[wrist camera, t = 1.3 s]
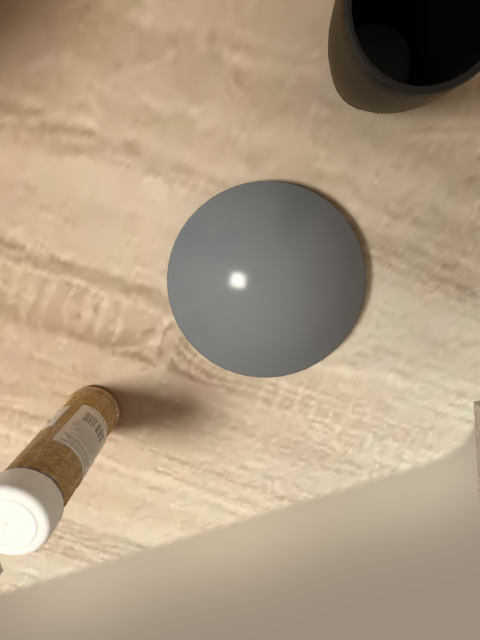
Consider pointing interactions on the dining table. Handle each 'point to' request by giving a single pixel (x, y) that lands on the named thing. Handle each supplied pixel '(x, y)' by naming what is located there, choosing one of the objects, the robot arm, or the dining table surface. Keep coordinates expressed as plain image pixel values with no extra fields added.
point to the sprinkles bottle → (53, 469)
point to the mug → (402, 51)
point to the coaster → (266, 279)
